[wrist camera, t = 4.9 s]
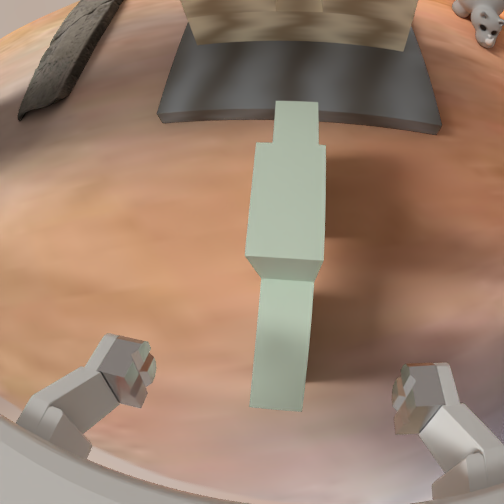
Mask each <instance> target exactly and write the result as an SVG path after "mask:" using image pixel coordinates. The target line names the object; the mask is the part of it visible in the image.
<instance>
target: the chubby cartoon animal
mask: <svg viewBox="0 0 504 504" xmlns="http://www.w3.org/2000/svg"><path fill="white" fill-rule="evenodd" d="M452 9H453V11H454V12H455V13H456V14H457V15H458V16H459V17H462V18H465V17H467V16H469V14H470V13H471V22H472V24H473V26H474V28H475V30H476V34H475V36H476V40H477V41H478V43H479V44H480V45H481V46H483V47H486V48H491V47H493V46H494V45H495V42H496V38H497V36H498V34H499V33H500V31H501V29H502V26H503V25H504V20H503V19H500V17H499V15H500V14H501V13H502V12H503V10H504V0H456V1H454V3H453V4H452Z"/></svg>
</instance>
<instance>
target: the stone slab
mask: <svg viewBox="0 0 504 504" xmlns="http://www.w3.org/2000/svg"><path fill="white" fill-rule="evenodd" d="M122 1H123V0H81V1H80V2H79V3H78V4H77V6H76V7H75V8H74V9H73V10H72V11H71V12H70V13H69V15H68V16H67V17H66V19H65V20H64V22H63V23H62V25H61V26H60V28H59V29H58V31H57V32H56V34H55V36H54V37H53V39H52V41H51V43H50V47H49V48H48V49H47V50H46V52H45V53H44V55H43V56H42V58H41V61H40V64H39V66H38V68H37V69H36V70H35V73H34V76H33V78H32V80H31V82H30V84H29V87H28V90H27V92H26V94H25V96H24V99H23V101H22V103H21V106H20V109H19V113H18V120H19V121H20V120H21V119H22V118H23V116H24V114H25V113H26V112H28V111H30V110H32V109H35V108H41V107H45V106H48V105H51V104H52V103H54V102H55V101H56V100H59V99H63V98H65V97H66V96H68V95H69V94H70V93H71V91H72V89H73V87H74V85H75V84H76V81H77V79H78V78H79V76H80V74H81V73H82V71H83V69H84V67H85V65H86V63H87V61H88V59H89V58H90V55H91V54H92V52H93V50H94V48H95V46H96V44H97V42H98V41H99V39H100V37H101V36H102V35H103V33H104V31H105V30H106V28H107V26H108V25H109V23H110V21H111V20H112V18H113V16H114V14H115V13H116V11H117V10H118V8H119V5H120V4H121V3H122Z"/></svg>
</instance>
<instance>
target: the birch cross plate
mask: <svg viewBox="0 0 504 504" xmlns="http://www.w3.org/2000/svg"><path fill="white" fill-rule="evenodd" d="M180 1H181V3H182V6H183V9H184V11H185V14H186V17H187V19H188V24H187V26H186V29H185V31H184V34H183V37H182V39H181V42H180V45H179V47H178V50H177V53H176V56H175V59H174V61H173V64H172V67H171V70H170V73H169V76H168V79H167V82H166V85H165V88H164V92H163V95H162V98H161V101H160V105H159V108H158V111H157V115H158V117H159V118H160V120H161V121H162V123H171V122H185V121H204V120H236V119H271V120H274V118H275V105H276V101H303V102H318V118H319V121H322V122H337V123H349V124H359V125H369V126H378V127H386V128H394V129H401V130H408V131H415V132H421V133H427V134H433V135H437V133H438V131H439V130H440V128H441V127H442V123H441V119H440V115H439V111H438V107H437V103H436V99H435V96H434V92H433V88H432V85H431V82H430V78H429V75H428V72H427V69H426V65H425V62H424V59H423V56H422V54H421V51H420V48H419V45H418V42H417V40H416V37H415V34H414V32H413V29H412V27H411V24H412V21H413V17H414V14H415V10H416V6H417V2H418V0H180Z"/></svg>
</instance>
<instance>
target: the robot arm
mask: <svg viewBox="0 0 504 504" xmlns="http://www.w3.org/2000/svg"><path fill="white" fill-rule="evenodd" d="M150 349H151V347H150V345H149V343H148V342H147V341H142V340H137V339H133V338H128V337H124V336H120V335H115V334H111V333H107V334H106V335H104V336H103V338H102V340H101V341H100V343H99V344H98V346H97V348H96V349H95V351H94V352H93V354H92V356H91V357H90V359H89V361H88V362H87V364H86V366H85V367H82V366H81V367H79V368H78V369H76V370H74V371H73V372H71V373H69V374H68V375H66V376H64V377H63V378H61V379H59V380H57V381H56V382H54V383H52V384H51V385H49V386H47V387H46V388H44V389H42V390H40V391H39V392H37V393H35V394H34V395H32V396H31V398H30V400H29V401H28V403H27V405H26V406H25V408H24V410H23V411H22V413H21V415H20V417H19V418H18V420H17V422H16V423H14V422H13V421H11V420H9V419H7V418H6V417H4V416H3V415H1V414H0V504H249V503H241V502H235V501H229V500H223V499H217V498H212V497H207V496H202V495H198V494H193V493H188V492H184V491H180V490H177V489H173V488H168V487H165V486H162V485H158V484H155V483H151V482H148V481H145V480H141V479H138V478H135V477H132V476H129V475H126V474H124V473H121V472H118V471H115V470H112V469H109V468H107V467H104V466H102V465H99V464H97V463H94V462H92V461H90V460H87V457H88V455H89V453H90V450H91V448H92V444H91V442H90V441H89V440H88V439H87V438H86V437H85V436H84V435H83V434H84V433H85V432H86V431H87V430H89V429H90V428H91V427H92V426H94V425H95V424H96V423H97V422H99V421H100V420H101V419H102V418H103V417H105V416H106V415H107V414H108V413H110V412H111V411H112V410H113V409H115V408H116V407H117V406H118V405H120V404H119V403H121V404H125V405H129V406H133V407H137V408H141V407H142V405H143V403H144V400H145V398H146V396H147V394H148V392H147V389H146V387H147V386H148V385H150V384H151V383H152V382H153V380H154V377H155V373H156V361H155V358H154V357H153V356H152V355H151V354H150V353H149V351H150ZM392 406H393V407H394V408H395V409H396V410H397V411H398V412H397V413H396V415H395V416H394V424H395V434H396V435H404V434H419V436H420V438H421V439H422V441H423V442H424V443H425V445H426V446H427V448H428V449H429V451H430V452H431V454H432V455H433V456H434V458H435V459H436V461H437V462H438V464H439V465H440V467H441V468H442V470H443V471H444V473H445V474H444V475H443V476H442V477H440V478H439V479H438V480H436V481H435V482H434V483H433V484H432V496H433V500H431V501H425V502H418V503H412V504H504V445H503V444H502V442H501V441H500V440H499V439H498V438H497V437H496V436H495V435H494V434H493V433H492V432H491V431H490V430H489V429H488V428H487V427H486V426H485V425H484V424H483V422H482V421H481V420H480V419H479V418H478V417H477V416H476V415H475V414H474V413H473V412H472V411H471V410H470V409H469V408H468V407H467V406H466V405H465V404H464V403H461V404H460V401H459V397H458V393H457V389H456V386H455V382H454V379H453V375H452V372H451V368H450V365H449V364H448V363H447V362H444V363H411V364H405V365H403V367H402V369H401V376H400V377H399V378H397V379H396V381H395V383H394V385H393V390H392Z"/></svg>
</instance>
